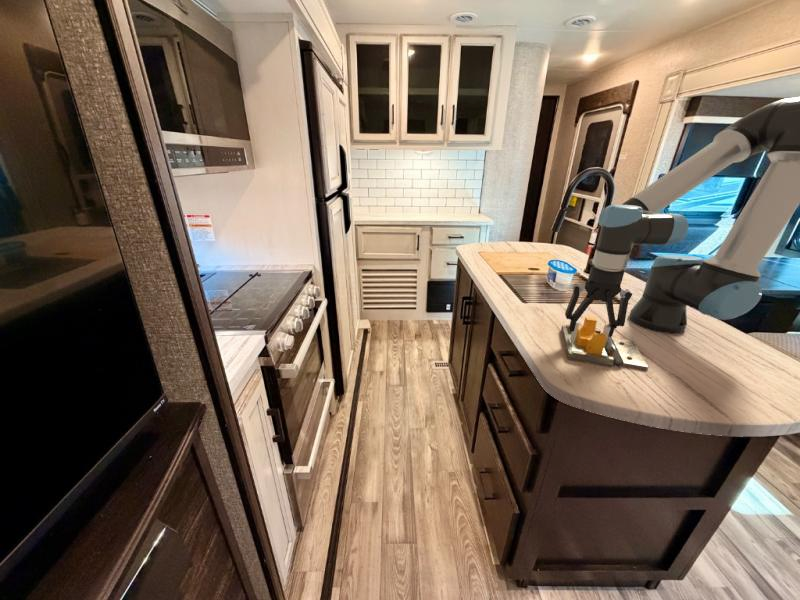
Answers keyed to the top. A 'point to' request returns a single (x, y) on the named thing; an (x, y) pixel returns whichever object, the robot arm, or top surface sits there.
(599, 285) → the robot arm
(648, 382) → the top surface
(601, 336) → the orange stepped block
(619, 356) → the hinge base
